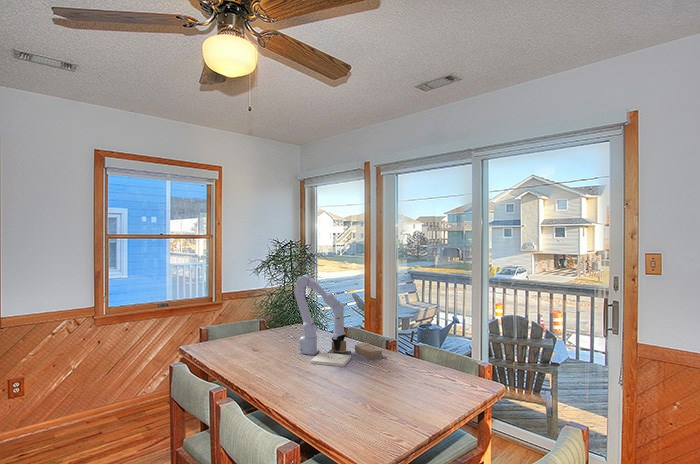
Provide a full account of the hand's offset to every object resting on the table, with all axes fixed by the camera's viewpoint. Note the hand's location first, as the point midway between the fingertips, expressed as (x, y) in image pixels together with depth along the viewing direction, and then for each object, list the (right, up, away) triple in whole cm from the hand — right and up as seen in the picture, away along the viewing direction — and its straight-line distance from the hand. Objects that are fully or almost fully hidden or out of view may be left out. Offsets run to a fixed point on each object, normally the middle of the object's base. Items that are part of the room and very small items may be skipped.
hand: (338, 348), depth 210 cm
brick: (+17, -3, -2) cm, 17 cm away
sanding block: (0, -1, 0) cm, 1 cm away
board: (-4, -2, -12) cm, 13 cm away
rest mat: (0, -3, 0) cm, 2 cm away
